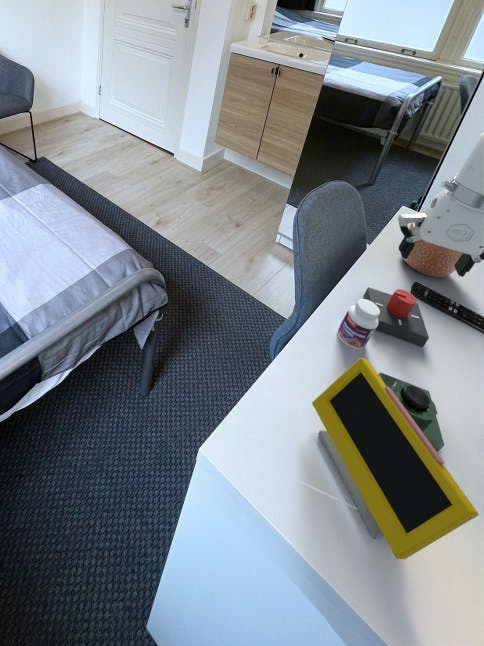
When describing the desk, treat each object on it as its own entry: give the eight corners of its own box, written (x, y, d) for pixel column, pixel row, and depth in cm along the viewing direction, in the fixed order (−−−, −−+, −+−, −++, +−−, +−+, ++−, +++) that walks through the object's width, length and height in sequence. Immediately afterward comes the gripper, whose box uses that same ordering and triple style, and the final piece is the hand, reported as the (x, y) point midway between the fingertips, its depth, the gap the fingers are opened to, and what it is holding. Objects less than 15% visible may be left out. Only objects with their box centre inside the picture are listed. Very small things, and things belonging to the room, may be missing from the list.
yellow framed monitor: (304, 414, 74) (336, 356, 66) (345, 411, 75) (382, 354, 67) (385, 570, 56) (441, 515, 49) (438, 564, 57) (500, 510, 50)
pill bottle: (332, 336, 89) (349, 304, 84) (342, 323, 92) (359, 291, 87) (359, 355, 85) (378, 322, 80) (369, 341, 88) (388, 309, 84)
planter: (444, 291, 103) (466, 258, 98) (388, 261, 111) (406, 229, 106) (455, 269, 110) (476, 237, 105) (402, 243, 118) (419, 212, 113)
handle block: (412, 312, 96) (418, 302, 95) (422, 347, 88) (429, 337, 86) (363, 296, 99) (368, 286, 98) (368, 328, 91) (374, 318, 90)
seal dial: (405, 307, 93) (415, 292, 91) (409, 321, 90) (419, 305, 88) (384, 300, 95) (393, 285, 92) (388, 313, 91) (397, 298, 89)
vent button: (399, 387, 76) (403, 381, 75) (422, 396, 74) (427, 390, 74) (403, 405, 73) (407, 399, 72) (428, 415, 72) (432, 409, 71)
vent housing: (375, 378, 81) (383, 365, 79) (423, 398, 78) (433, 385, 76) (383, 429, 72) (393, 415, 71) (438, 452, 70) (450, 439, 68)
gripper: (425, 190, 77) (384, 259, 85) (543, 221, 71) (488, 292, 79) (415, 171, 83) (379, 237, 91) (524, 198, 77) (474, 266, 86)
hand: (429, 262), depth 85 cm, fingers open, 9 cm apart
